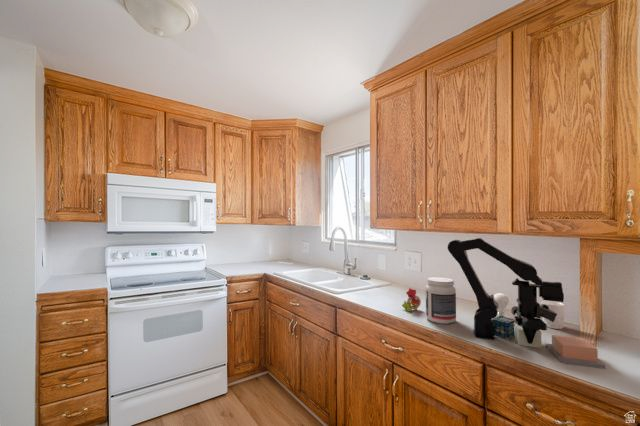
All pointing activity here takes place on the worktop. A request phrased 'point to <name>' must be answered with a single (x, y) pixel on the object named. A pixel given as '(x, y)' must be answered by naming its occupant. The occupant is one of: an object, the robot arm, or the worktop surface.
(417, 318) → the worktop surface
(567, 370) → the worktop surface
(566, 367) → the worktop surface
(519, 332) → the sage brick
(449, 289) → the supplement tub
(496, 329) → the puzzle
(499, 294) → the light bulb
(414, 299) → the bird rattle
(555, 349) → the brick base
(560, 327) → the white cup
